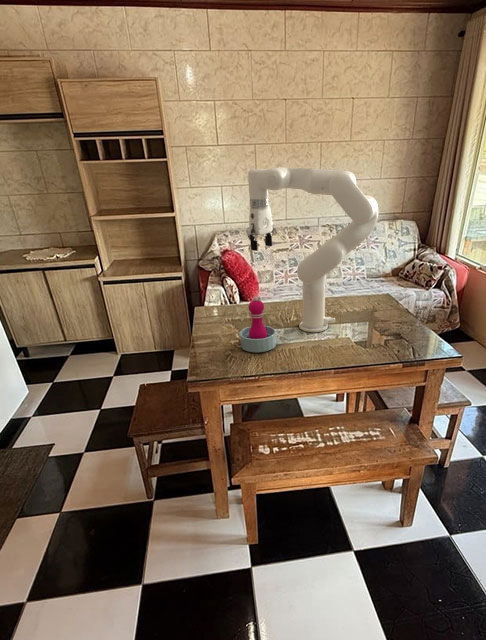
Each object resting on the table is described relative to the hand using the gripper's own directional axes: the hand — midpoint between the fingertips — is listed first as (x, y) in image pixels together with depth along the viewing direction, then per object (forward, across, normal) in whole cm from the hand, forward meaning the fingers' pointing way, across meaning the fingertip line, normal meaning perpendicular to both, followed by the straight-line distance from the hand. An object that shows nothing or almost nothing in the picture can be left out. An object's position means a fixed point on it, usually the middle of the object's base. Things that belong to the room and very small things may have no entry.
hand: (261, 248), depth 169 cm
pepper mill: (+33, -21, -13) cm, 41 cm away
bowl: (+33, -21, -13) cm, 41 cm away
